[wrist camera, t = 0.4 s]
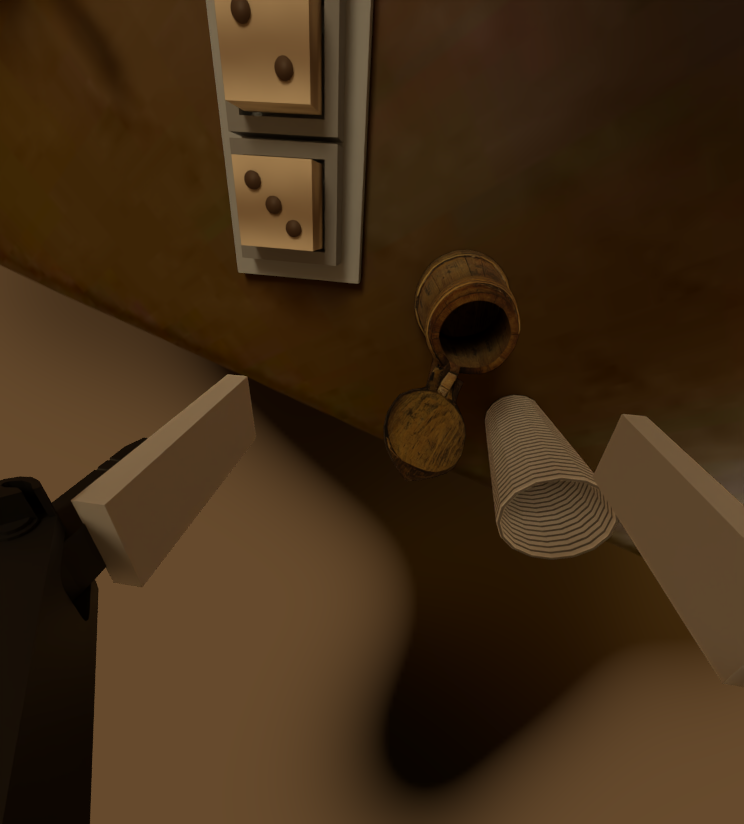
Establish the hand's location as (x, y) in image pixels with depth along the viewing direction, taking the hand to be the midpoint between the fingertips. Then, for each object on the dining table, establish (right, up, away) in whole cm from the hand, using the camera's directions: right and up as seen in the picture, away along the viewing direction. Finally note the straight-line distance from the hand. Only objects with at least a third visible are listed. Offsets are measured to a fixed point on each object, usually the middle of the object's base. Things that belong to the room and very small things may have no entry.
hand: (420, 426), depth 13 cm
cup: (+14, 0, +27) cm, 30 cm away
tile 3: (-9, +18, +16) cm, 26 cm away
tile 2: (-8, +26, +12) cm, 29 cm away
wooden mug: (+6, +10, +22) cm, 25 cm away
